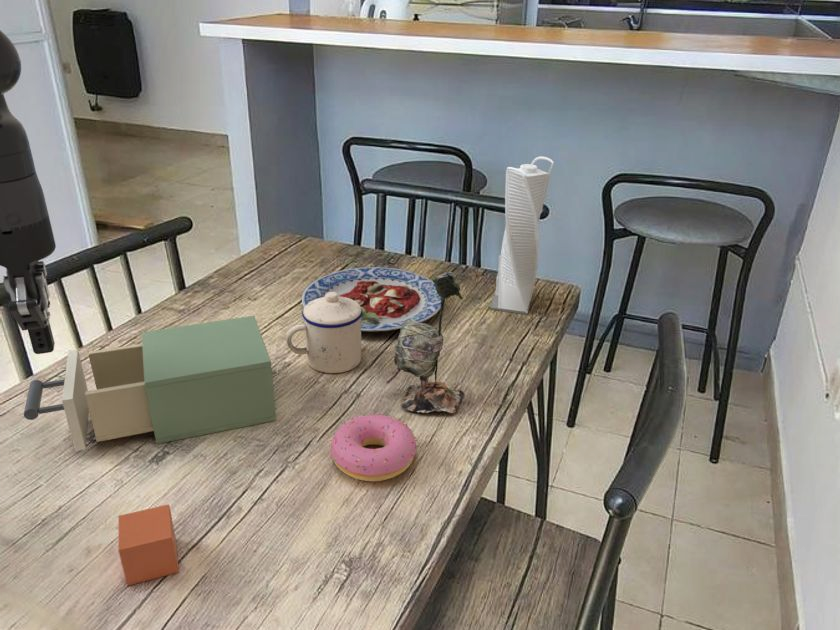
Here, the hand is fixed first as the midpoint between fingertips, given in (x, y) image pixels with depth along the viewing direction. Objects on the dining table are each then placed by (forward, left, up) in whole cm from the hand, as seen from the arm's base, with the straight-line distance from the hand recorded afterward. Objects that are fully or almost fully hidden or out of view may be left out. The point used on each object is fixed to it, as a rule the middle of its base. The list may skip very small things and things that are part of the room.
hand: (44, 350), depth 83 cm
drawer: (+6, +2, -13) cm, 14 cm away
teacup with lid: (+36, +8, -14) cm, 40 cm away
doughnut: (+36, -17, -14) cm, 43 cm away
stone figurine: (+47, -7, -14) cm, 50 cm away
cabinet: (+18, +2, -14) cm, 23 cm away
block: (+9, -25, -14) cm, 30 cm away
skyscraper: (+74, +16, -14) cm, 77 cm away
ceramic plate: (+49, +24, -14) cm, 57 cm away
